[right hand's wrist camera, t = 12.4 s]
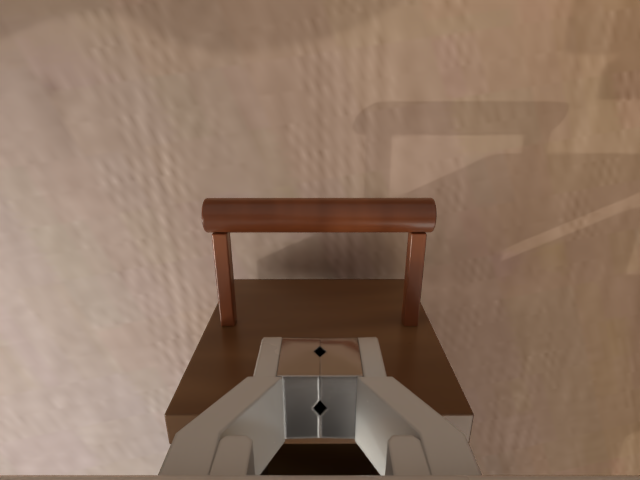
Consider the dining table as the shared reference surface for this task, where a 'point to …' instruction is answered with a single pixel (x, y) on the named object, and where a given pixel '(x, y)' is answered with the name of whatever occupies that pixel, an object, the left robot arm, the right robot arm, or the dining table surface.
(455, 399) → the drawer
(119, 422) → the dining table surface
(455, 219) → the dining table surface
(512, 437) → the dining table surface
